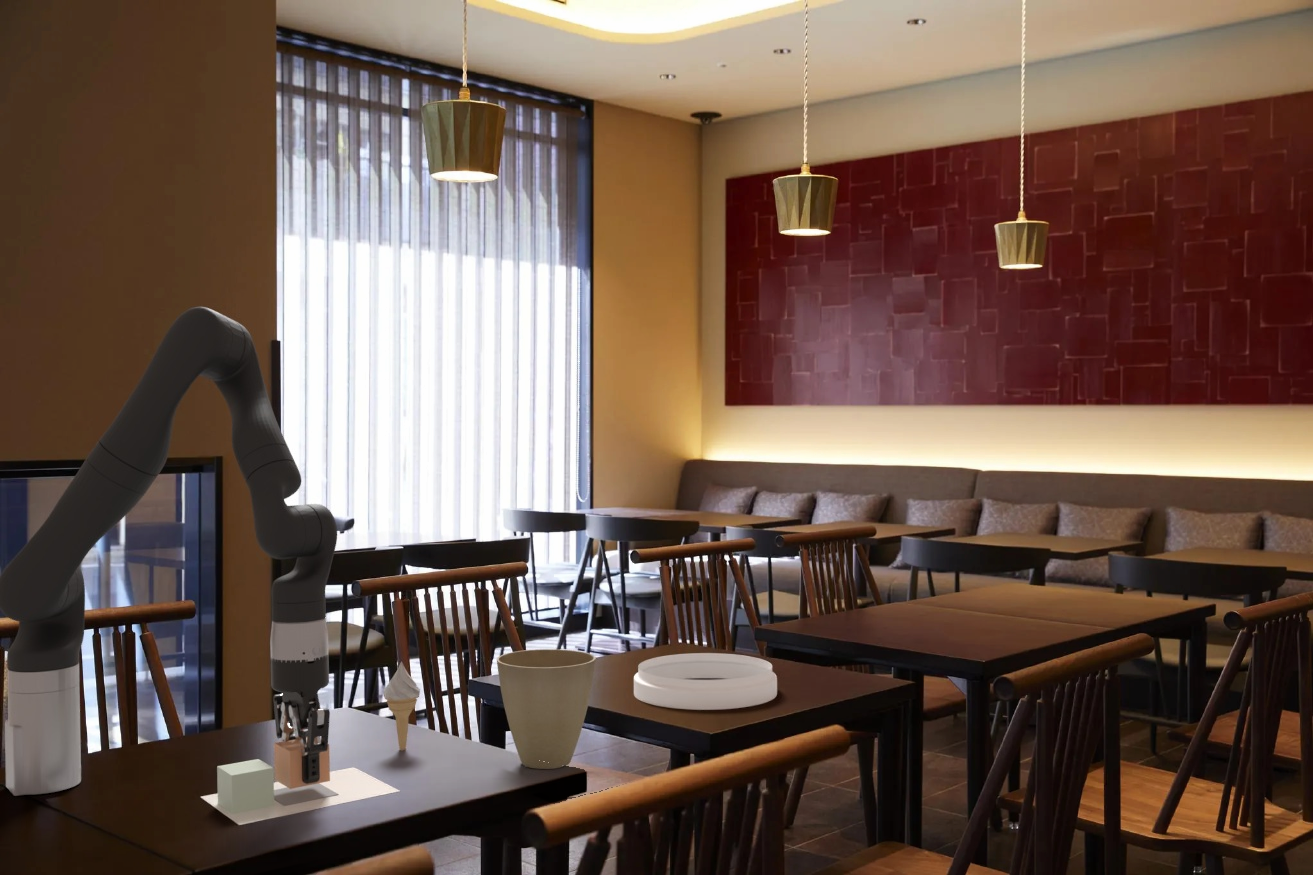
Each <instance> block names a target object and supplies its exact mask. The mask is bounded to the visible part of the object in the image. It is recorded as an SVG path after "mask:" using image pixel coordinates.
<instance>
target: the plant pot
mask: <svg viewBox="0 0 1313 875" xmlns="http://www.w3.org/2000/svg"><path fill="white" fill-rule="evenodd" d="M596 659H597V658H596V656H595V655H594V654H591V653H590V652H585V651H580V650H572V649H571V650H570V649H559V648H558V649H555V648H554V649H553V648H545V649H544V648H543V649H542V648H541V649H540V648H539V649H526V650H518V651H517V650H515V651H512V652H511V651H510V652H507V653H504V654H502V655H500V656H498V657H497V658H496V664H497V674H498V679H499V685H500V686H499V687H500V692H501V697H502V702H503V707H504V710H505V715H506V720H507V723H508V727H509V730H510V733H511V737H512V740H513V743H514V746H515V748H516V751H517V754H518V756H519V760H520V763H521V765H523V766H524V767H527V768H530V769H536V770H551V769H560V768H562V767H563V766H562V765H565V766H564V767H566V766H569V765H570V763H571V762H572V760H573V757H574V753H575V750H576V748H577V746H578V743H579V739H580V736H581V733H582V729H583V725H584V722H585V718H586V715H587V710H588V708H589V701H590V697H591V692H592V686H593V680H594V674H595V667H596ZM539 760H540V761H539ZM543 761H545V762H543ZM548 762H549V763H548Z"/></svg>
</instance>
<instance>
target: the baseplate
mask: <svg viewBox="0 0 1313 875" xmlns="http://www.w3.org/2000/svg"><path fill="white" fill-rule="evenodd" d="M398 792H399V793H400V792H401V790H400V789H397V788H395V787H394V786H391V785H389V784H387V783H386V782H383V781H382V780H380V779H377V778H375V777H374V776H372V775H370V774H368V773H366V772H364V771H361V770H360V769H358V768H356V767H348V768H343V769H337V770H332V771H330V781H327V782H323V783H318V784H313V785H308V786H303V787H298V788H293V789H290V788H288V787H286V786H284V785H283V784H281V783H279V782H278V781H275V782H274V806H270V807H265V808H261V809H256V810H251V811H246V812H241V813H236V814H231V813H230V812H228V811H227V810H225V809H224V808H223V807H221V806H220V805H218V792H217V793H213V794H207V795H203V796H200V798H201V799H202V800H204V801H205V802H207V803H208V804H209V805H211V806H212V807H213V808H214V809H216V810H218V811H219V812H220V813H221V814H223V815H224V816H226V817H227V818H229V819H230V820H231V821H232V822H234V823H235V824H237V825H238V826H242V825H246V824H251V823H256V822H261V821H265V820H271V819H275V818H280V817H286V816H289V815H294V814H299V813H303V812H308V811H314V810H318V809H325V808H327V807H333V806H337V805H338V806H339V805H341V804H342V805H343V804H347V803H353V802H356V801H360V800H361V801H362V800H365V799H371V798H375V797H380V796H385V795H391V794H394V793H398Z"/></svg>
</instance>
